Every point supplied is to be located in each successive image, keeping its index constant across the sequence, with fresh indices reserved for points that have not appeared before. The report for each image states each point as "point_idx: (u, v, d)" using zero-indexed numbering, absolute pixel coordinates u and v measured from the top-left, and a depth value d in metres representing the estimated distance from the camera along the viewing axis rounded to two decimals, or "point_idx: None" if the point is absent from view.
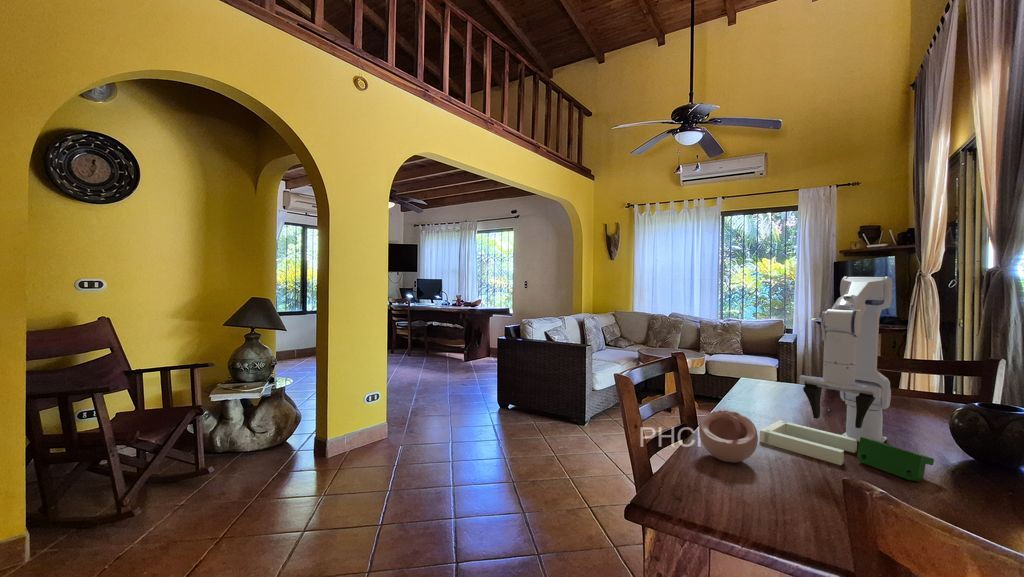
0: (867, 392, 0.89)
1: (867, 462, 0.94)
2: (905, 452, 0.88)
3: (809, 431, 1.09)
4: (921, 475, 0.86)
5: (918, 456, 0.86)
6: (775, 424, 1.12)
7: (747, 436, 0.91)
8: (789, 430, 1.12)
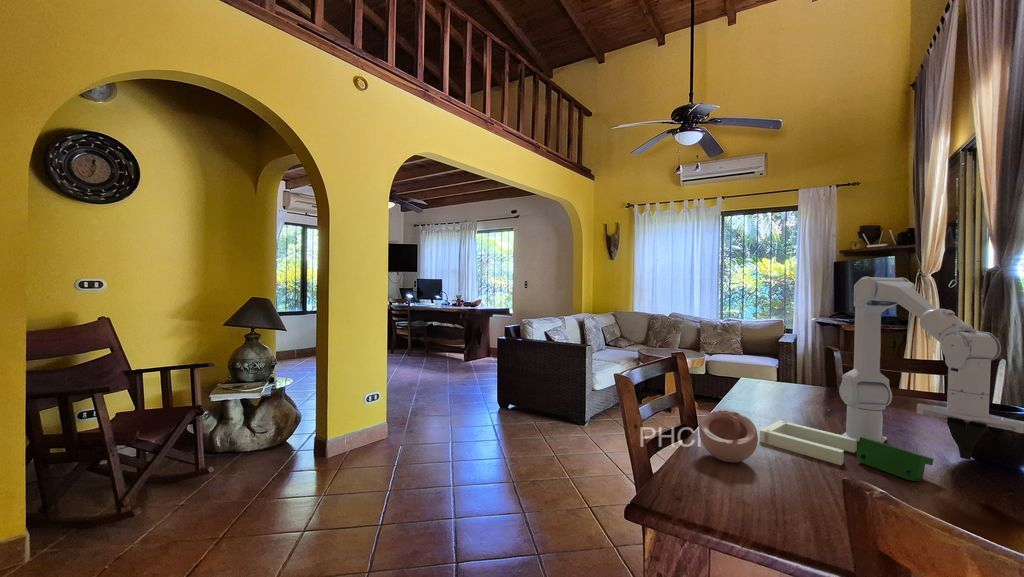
0: (1006, 426, 0.80)
1: (866, 462, 0.94)
2: (904, 452, 0.88)
3: (809, 431, 1.09)
4: (921, 475, 0.86)
5: (917, 456, 0.86)
6: (775, 424, 1.12)
7: (747, 436, 0.91)
8: (789, 430, 1.12)
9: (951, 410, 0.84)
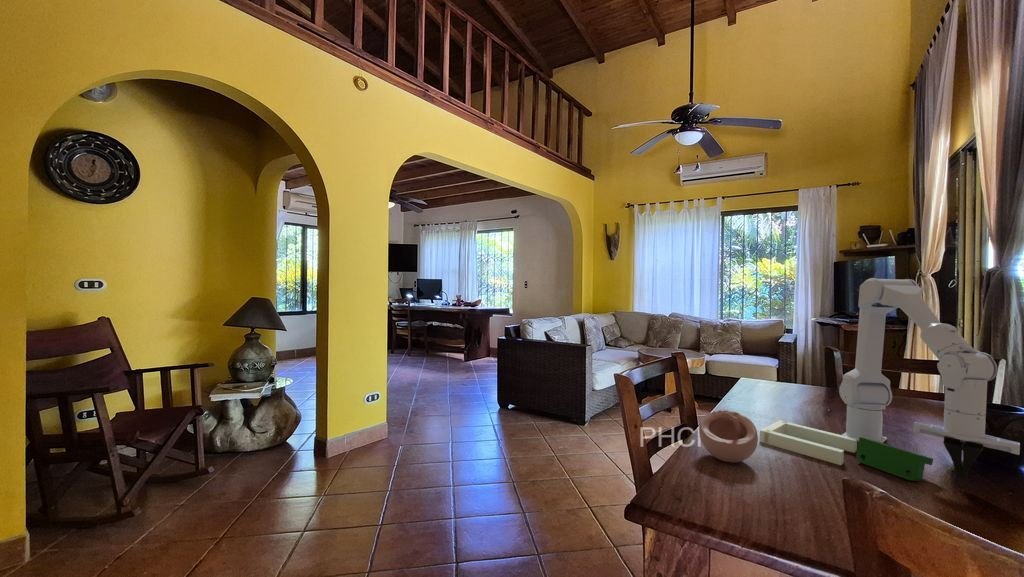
0: (1002, 446, 0.80)
1: (866, 462, 0.94)
2: (904, 452, 0.88)
3: (809, 431, 1.09)
4: (920, 475, 0.86)
5: (917, 456, 0.86)
6: (775, 424, 1.12)
7: (747, 436, 0.91)
8: (789, 430, 1.12)
9: (947, 430, 0.84)
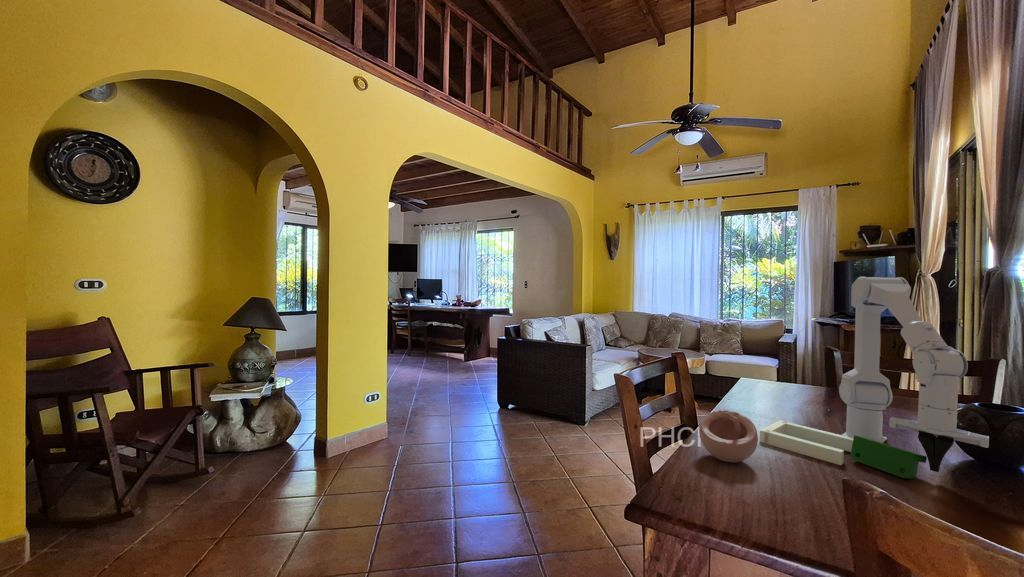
0: (972, 440, 0.83)
1: (861, 460, 0.95)
2: (898, 450, 0.89)
3: (809, 431, 1.09)
4: (914, 472, 0.87)
5: (911, 454, 0.87)
6: (775, 424, 1.12)
7: (747, 436, 0.91)
8: (789, 430, 1.12)
9: (921, 424, 0.87)
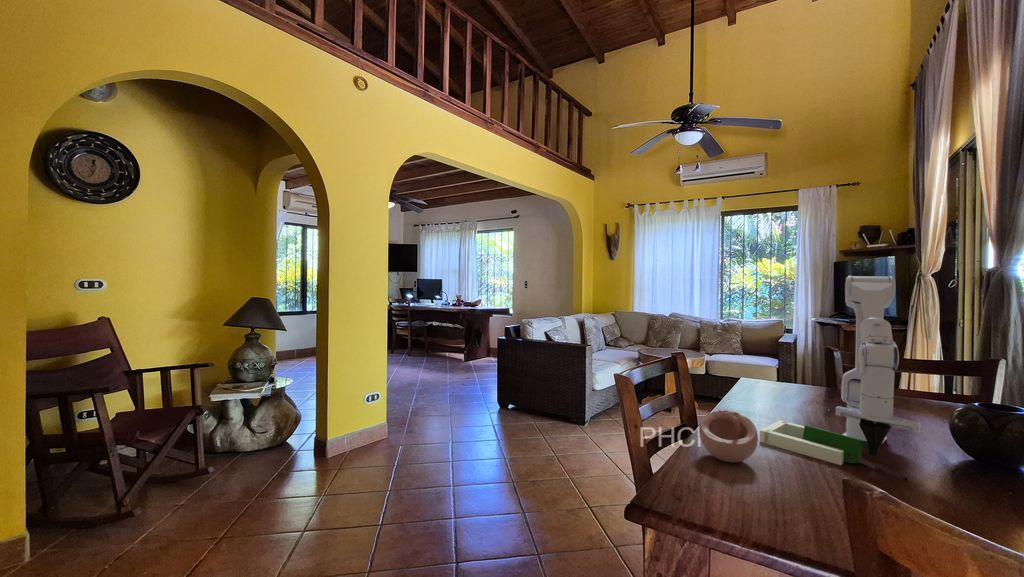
0: (906, 426, 0.91)
1: None
2: (845, 437, 0.96)
3: None
4: (860, 457, 0.94)
5: (857, 440, 0.94)
6: (775, 424, 1.12)
7: (747, 436, 0.91)
8: (789, 430, 1.12)
9: (862, 412, 0.95)
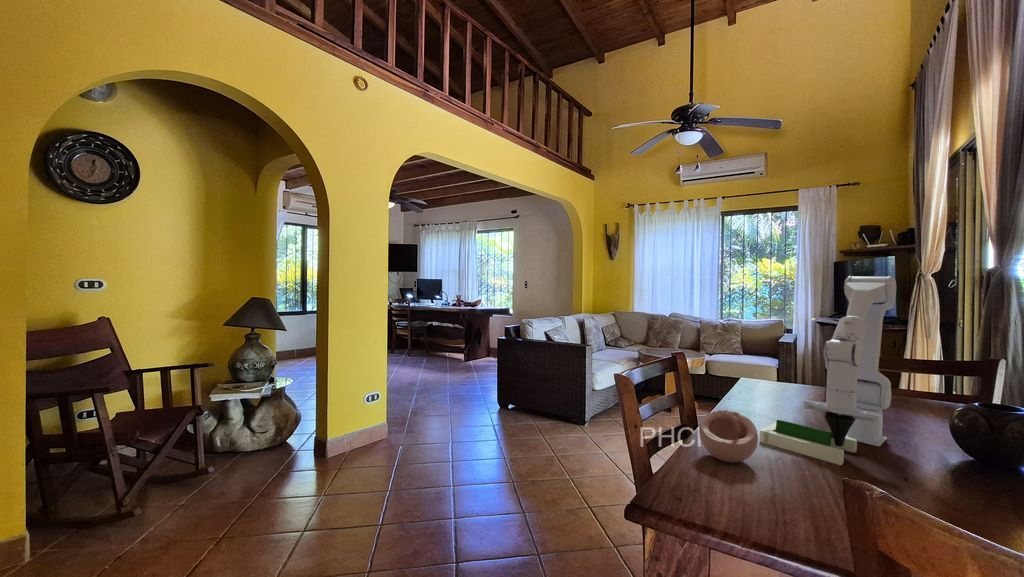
0: (867, 418, 0.96)
1: None
2: (816, 430, 1.01)
3: None
4: None
5: (827, 432, 0.99)
6: (775, 424, 1.12)
7: (747, 436, 0.91)
8: None
9: (827, 405, 1.00)
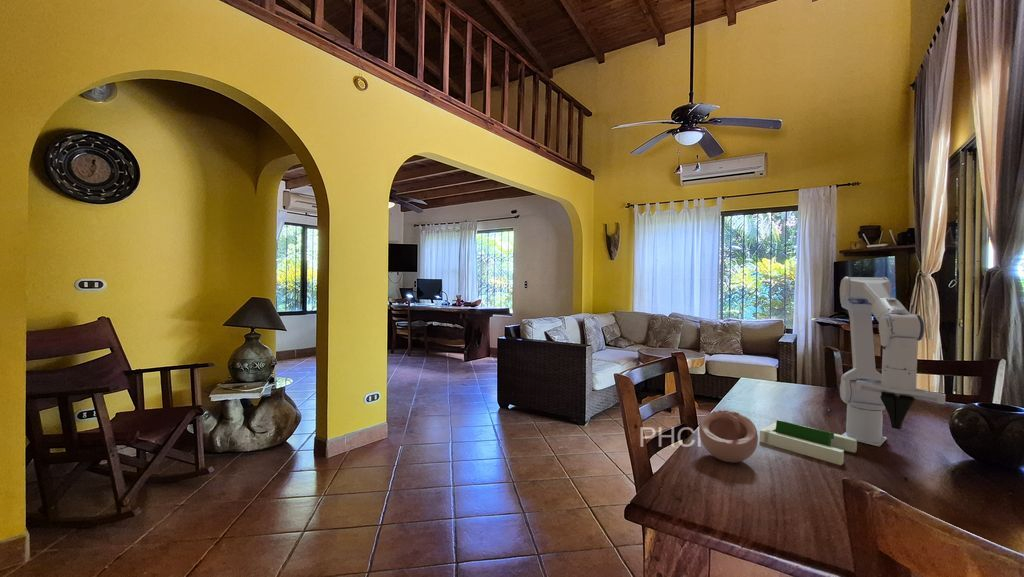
0: (930, 398, 0.88)
1: None
2: (816, 430, 1.01)
3: None
4: None
5: (827, 433, 0.99)
6: (775, 424, 1.12)
7: (747, 436, 0.91)
8: None
9: (884, 385, 0.93)
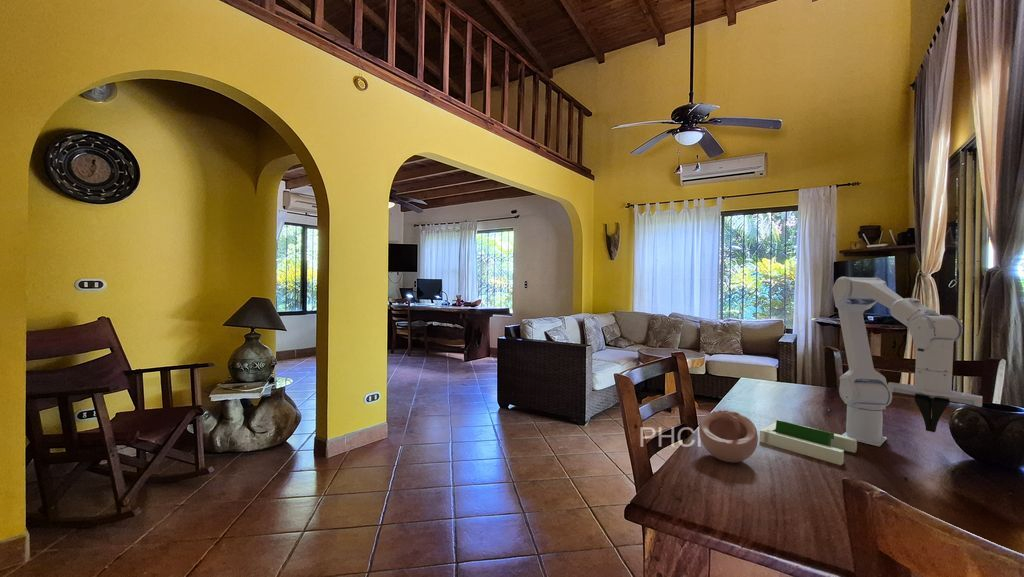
0: (966, 400, 0.87)
1: None
2: (815, 430, 1.01)
3: None
4: None
5: (826, 433, 0.99)
6: (775, 424, 1.12)
7: (747, 436, 0.91)
8: None
9: (918, 387, 0.91)
